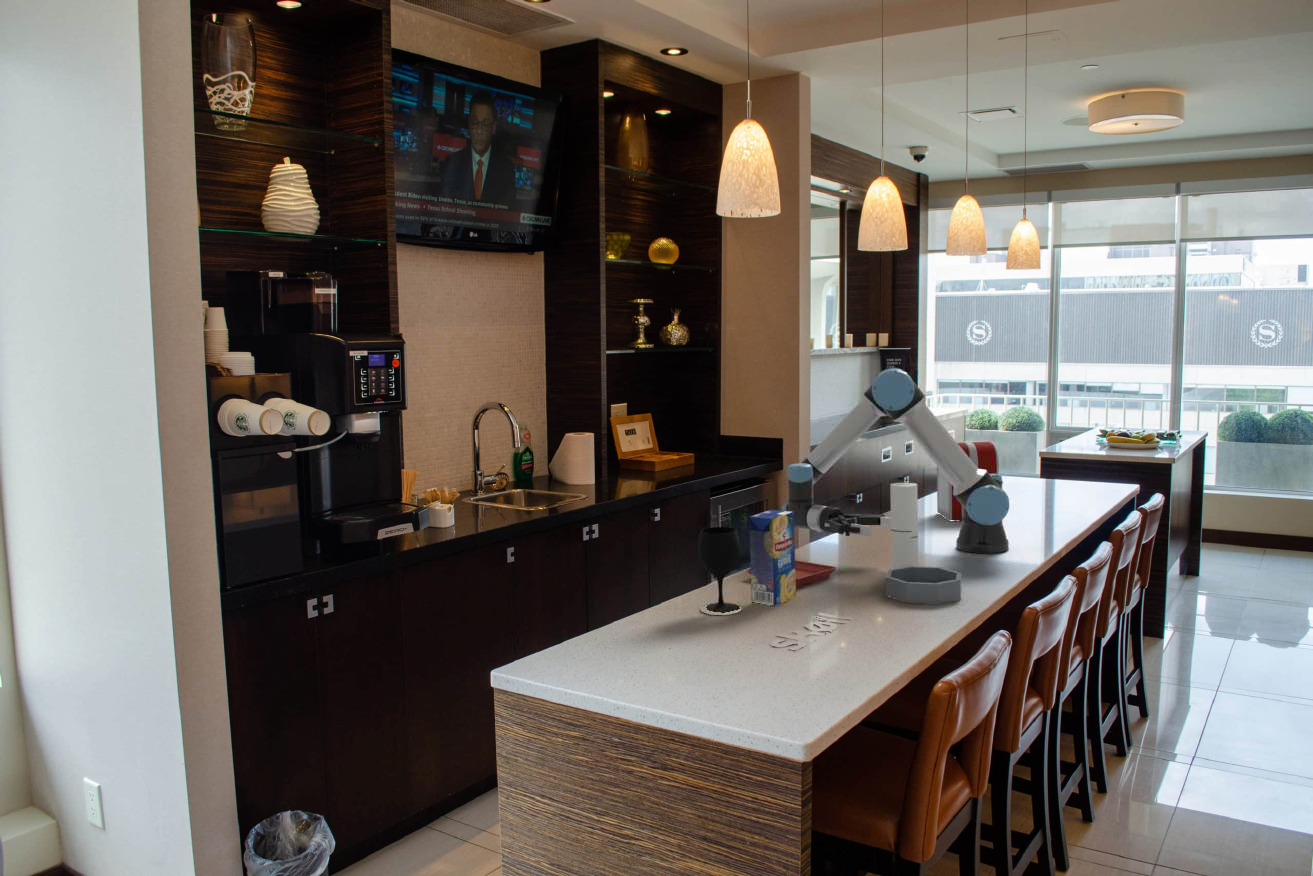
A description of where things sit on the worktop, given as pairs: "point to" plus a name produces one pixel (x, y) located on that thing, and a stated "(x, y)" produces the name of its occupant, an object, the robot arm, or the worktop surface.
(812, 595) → the worktop surface
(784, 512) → the beverage box
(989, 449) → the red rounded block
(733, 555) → the wine glass
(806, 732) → the worktop surface
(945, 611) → the worktop surface
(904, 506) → the cylindrical container
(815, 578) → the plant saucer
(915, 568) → the bowl
